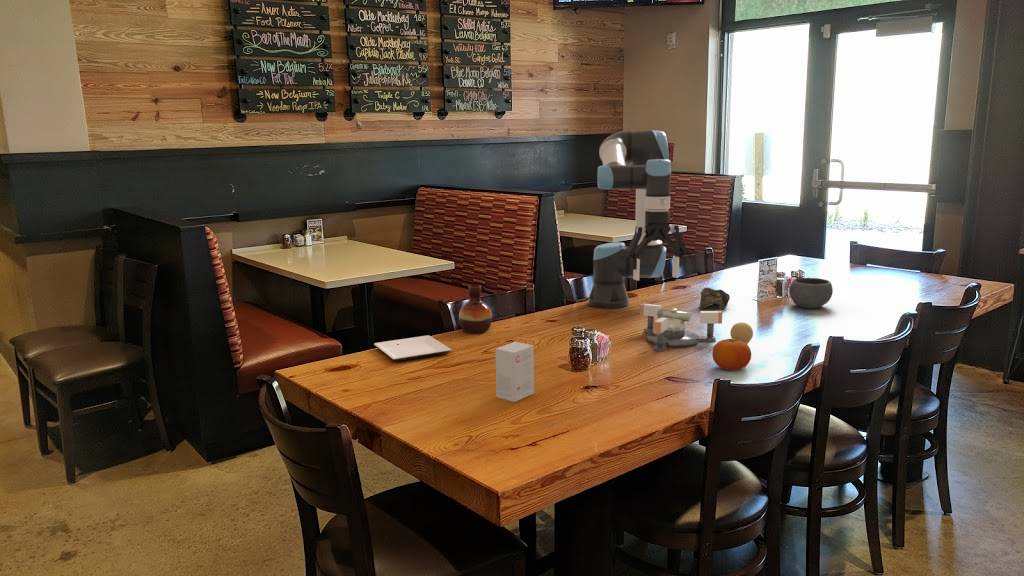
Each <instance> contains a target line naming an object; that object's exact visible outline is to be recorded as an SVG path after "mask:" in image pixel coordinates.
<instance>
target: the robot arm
mask: <svg viewBox="0 0 1024 576" xmlns="http://www.w3.org/2000/svg"><path fill="white" fill-rule="evenodd" d="M667 138H668V137H667V135H666V133H665V132H664V131H663V130H653V129H652V130H622V131H618V132H615V133H612V134H611V135H609V136H607V137H606V138H605V139H604V140H603V141H602V143H601V144H600V146H599V151H598V152H599V153H598V154H599V155H598V156H599V159H600V160H601V161H602V165H599V166H598V167H597V188H598V189H600V190H607V191H609V190H635V226H634V234H633V236H632V239H631V241H630V243H629V246H626V244H625V243H624V242H622V241H619V242H618V241H615V242H607V243H601V244H599V245H597V246H596V247H594V250H593V258H592V260H593V284H592V286H591V287H592V288H591V291H590V293H589V296H588V305H589V306H591V307H593V308H597V309H599V308H600V309H621V308H625V307H626V308H627V307H628V306H629V305H630V303H629V301H630V299H629V295H628V292H627V289H626V286H625V278H632V279H633V280H635V281H637V282H638V281H640V278H646V279H647V278H648V279H652V278H660V277H661V276H662V275H663V273H664V270H665V267H666V260H667V247H669V249H670V250H671V251H672V253H673V254H674V255H673V256H672V275H671V277H673V278H676V279H678V278H679V277H680V267H682V259H683V257H684V255H687V254H688V250H687V247H686V245H685V243H684V240H683V238H682V236H681V233H680V226H679V225H677V224H672V225H670V222H671V220H670V219H671V212H670V211H669V210H670V209H671V186H672V184H671V181H672V180H671V179H672V161H671V160H670V159H669V158H670V157H669V156H670V153H669V143H668V139H667ZM628 164H631V165H628ZM670 232H671V233H672V235H673V239H674V240H675V242H674V241H673V240H672V237H671V236H670V235H669V233H670ZM663 241H664V242H665V243H666V244H667V247H666V246H664V245H663ZM675 243H676V244H675Z"/></svg>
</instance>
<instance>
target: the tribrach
mask: <svg viewBox="0 0 1024 576" xmlns="http://www.w3.org/2000/svg"><path fill="white" fill-rule="evenodd" d="M661 317H662V318H668V319H667V330H665V331H664V336H663V346H657V334H653V329H647V328H644V329H643V332H644V333H645V334H647V342H648V343H650V344H652V345H654V346H653V349H652V350H653V351H658V352H665V350H667V349H668V348H675V349H676V348H677V349H679V348H690V347H694V346H697V345H698V344H699V343H700V342H702V343H703V342H706V343H707V342H710V343H712V342H716V343H717V341H716V340H717V339H716V338H717V337H715V336H714V335H713V337H707V335H698V334H697V333H696V332H692V331H690V330H689V331H688V330H686V329H685V328H686V323H687V322H690V321H691V317H692V314H691V312H686V311H678V308H676V307H675V308H670V310H669V309H662V308H661V309H659V310H658V312H657V318H658V319H659V318H661Z"/></svg>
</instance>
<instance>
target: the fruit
mask: <svg viewBox="0 0 1024 576" xmlns="http://www.w3.org/2000/svg"><path fill="white" fill-rule="evenodd" d="M711 353H712V354H711V355H712V360H713V361H714V363H715V364H716V366H718V367H719V368H720V369H723V370H727V371H738V370H742V369H745V367H747V366H748V364H749V363H750V362H751V359H752V349H751V347H750V346H749V345H748V344H746V343H745V342H743V341H740V340H737V339H732V338H726V339H721V340H719V341H718V342H716V343H715V344H714V346H713V347H712V351H711Z"/></svg>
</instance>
